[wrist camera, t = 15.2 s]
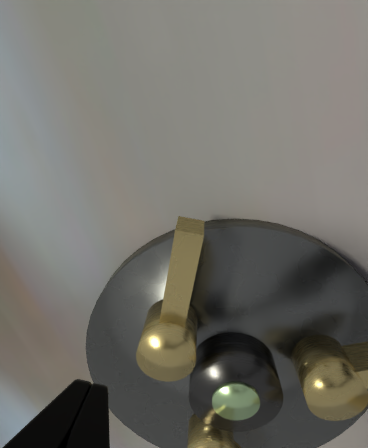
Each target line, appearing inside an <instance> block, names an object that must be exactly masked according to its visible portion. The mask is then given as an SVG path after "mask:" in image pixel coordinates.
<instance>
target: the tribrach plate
mask: <svg viewBox="0 0 368 448" xmlns="http://www.w3.org/2000/svg"><path fill="white" fill-rule="evenodd" d="M174 234H175V230H172V231H170V232H168V233H166V234H164V235H161V236H159V237H157V238H155V239H153V240H152V241H150V242H149V243H147V244H146V245H144V246H142V247H141V248H139V249H138V250H137V251H136V252H134V253H133V254H132V255H131V256H130V257H129V258H127V259H126V260H125V261H124V262H123V263H122V264H121V266H120V267H119V268H118V269H117V270H116V271H115V273H114V274H113V275H112V277H111V278H110V280H109V281H108V283H107V285H106V286H105V288H104V290H103V291H102V293H101V295H100V297H99V298H98V300H97V302H96V305H95V307H94V309H93V312H92V314H91V317H90V321H89V325H88V329H87V337H86V354H87V363H88V367H89V371H90V375H91V378H92V380H93V382H94V383H97V384H101V385H106V386H107V387H108V407H109V409H110V410H111V411H112V413H113V414H114V415H115V416H116V417H117V418H118V419H119V420H120V421H121V422H122V423H123V424H124V425H125V426H127V427H128V428H129V429H131V430H132V431H133V432H134V433H136V434H137V435H139V436H140V437H142V438H143V439H145V440H147V441H148V442H150V443H152V444H154V445H156V446H158V447H160V448H187V444H188V425H189V420H190V418H191V416H192V415H193V414H196V416H197V417H198V418H199V419H201V420H202V421H203V422H205V423H206V424H208V425H210V426H212V427H214V428H217V429H220V430H224V431H231V432H233V435H234V441H235V442H237V443H238V444H239V445H240V446H241V447H242V448H317V447H319V446H321V445H323V444H326V443H327V442H329V441H330V440H332V439H334V438H335V437H337V436H339V435H340V434H341V433H343V432H344V431H345V430H346V429H348V428H349V427H350V426H352V425H353V424H354V423H355V422H356V421H357V420H358V419H359V418H360V417H361V416H362V415H363V414H364V413H365V411H366V410H367V409H368V404H367V406H366V407H365V408H364V410H363V411H362V412H360V413H359V414H358V415H356V416H354V417H352V418H349V419H346V420H341V421H329V420H325V419H321V418H319V417H317V416H316V415H314V414H313V413H312V412H311V411H310V410H309V408H308V405H307V402H306V399H305V396H304V394H303V391H302V388H301V385H300V382H299V379H298V376H297V373H296V370H295V367H294V364H293V362H292V351H293V349H294V347H295V346H296V344H297V343H298V342H300V341H301V340H302V339H304V338H306V337H309V336H313V335H327V336H330V337H333V338H335V339H336V340H337V341H339V343H340V344H341V345H342V346H344V345H349V344H355V343H361V342H367V341H368V285H367V284H366V282H365V281H364V280H363V279H362V278H361V276H360V275H359V274H358V273H357V272H356V271H355V270H354V269H353V268H352V267H351V265H350V264H349V263H348V262H347V261H345V260H344V259H343V258H342V257H341V256H340V255H339V254H338V253H336V252H335V251H334V250H333V249H331V248H330V247H328V246H327V245H325V244H324V243H322V242H321V241H319V240H317V239H315V238H313V237H311V236H309V235H307V234H305V233H303V232H301V231H299V230H295V229H292V228H289V227H286V226H283V225H280V224H276V223H270V222H265V221H260V220H249V219H222V220H211V221H206V222H204V238H203V243H202V247H201V252H200V257H199V262H198V266H197V271H196V276H195V281H194V285H193V290H192V295H191V299H190V304H189V305H190V306H191V307H192V308H193V309H194V311H195V313H196V315H197V345H196V364H195V367H194V369H193V371H192V372H191V373H190V374H189V375H188V376H186V377H185V378H183V379H181V380H177V381H171V382H166V381H160V380H156V379H153V378H151V377H149V376H148V375H146V374H145V373H144V372H143V371H142V370H141V369H140V367H139V366H138V363H137V360H136V352H137V348H138V345H139V341H140V338H141V334H142V331H143V327H144V323H145V320H146V316H147V313H148V310H149V309H150V307H151V306H152V305H153V304H154V303H156V302H157V301H159V300H162V299H163V298H164V292H165V286H166V280H167V274H168V269H169V263H170V257H171V251H172V246H173V240H174ZM367 391H368V389H367Z"/></svg>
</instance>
